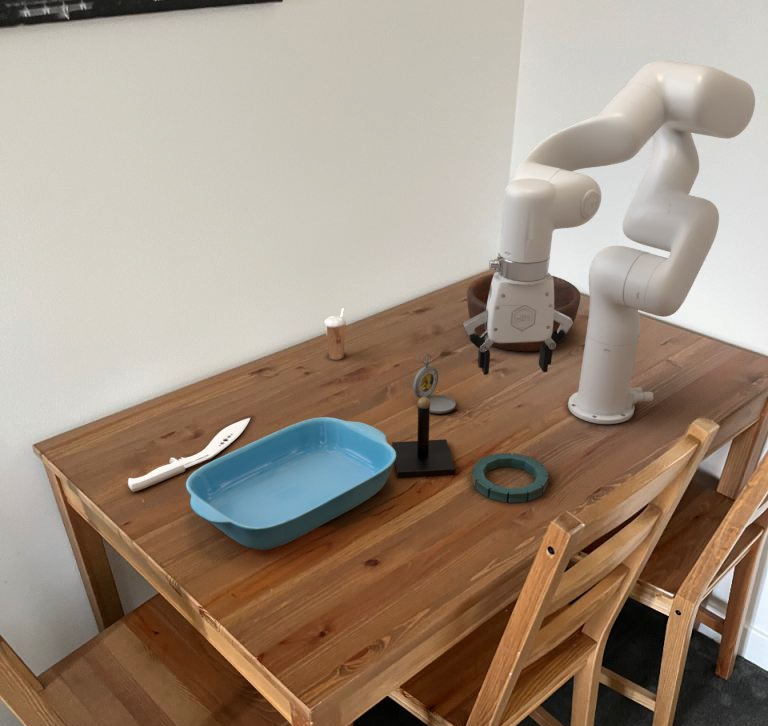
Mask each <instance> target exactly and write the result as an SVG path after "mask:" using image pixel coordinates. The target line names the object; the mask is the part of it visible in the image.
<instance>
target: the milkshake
mask: <svg viewBox="0 0 768 726" xmlns="http://www.w3.org/2000/svg"><path fill="white" fill-rule="evenodd" d="M344 311H345V309H344V308H343V307H342V308H341V312H340V316H339V315H330V316H328V317H327V318H326V319H325V320H324V321H323V322H324V329H325V336H326V342H327V349H328V358H329V359H331V360H333V361H335V360H336V361H339V360H342V359H343V358H344V357H345V341H346V339H345V338H346V337H345V336H346V328H347V327H346V325H347V321H346V319H345V318H344V317H343V316H344Z"/></svg>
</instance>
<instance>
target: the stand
mask: <svg viewBox="0 0 768 726" xmlns="http://www.w3.org/2000/svg"><path fill="white" fill-rule="evenodd" d="M430 404H431V403H430V400H429V399H428V398H427V397H421V398H418V400H417V438H416V439H417V440H409V441H408V440H407V441H392V442H391V446H392V447H393V449H394V450H395V452H396V460H395V462H394V465H395V470H396V477H397V478H398V479H401V478H402V479H403V478H421V477H422V478H423V477H437V476H454V475H456V468H455V464H454V461H453V458H452V453H451V450H450V446H449V444H448V441H447V439H446V438H445V439H444V438H443V439H430V417H431V415H430V414H431V412H430Z"/></svg>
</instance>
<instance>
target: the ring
mask: <svg viewBox="0 0 768 726" xmlns="http://www.w3.org/2000/svg"><path fill="white" fill-rule="evenodd" d="M509 467H511V468H515V469H519V470H524V471H525V472H526V473H529V474H530V475H531V476H533V478H534V482H532V483H530V484H527V485H525V486H522V487H521V486H520V487H506V486H502V485H497V484H495V483H493V482H492V481H491V480H489V479H487V478H486V474H487V473H488V472H490V471H493V470H495V469H497V468H509ZM471 480H472V483H473V486H474V489H475V490H476V491H477V492H479V493H480V494H481V495H483V496H485V497H486V498H489V499H490V500H494V501H498V502H503V503H509V504H513V503H527V502H531V501H533V500H535V499H537V498H539V497H542V495H544V493H545V491H546V489H547V488H548V485H549V473H548V471H547V468H546V466H545V465H544V464H543V463H541V462H540V461H538V460H537V459H535V458H533V457H532V456H529V455H525V454H519V453H516V452H513V453H512V452H502V453H500V452H499V453H494V454H493V453H492V454H489V455H486V456H485V457H481V458H479V460H477V462H476V464H475V465H474V466H473V467H472V471H471Z"/></svg>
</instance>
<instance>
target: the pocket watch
mask: <svg viewBox="0 0 768 726" xmlns="http://www.w3.org/2000/svg"><path fill="white" fill-rule="evenodd" d="M426 356H428V358H429V359H427V358H426V359H425V361H423V360H424V358H425V357H426ZM431 359H432V356H431V355H430V354H429V353H427V354H424V355H422V357H421V360H420V361H421V363H422V364H424V366H423V367H421V368H420V369H419V370H418V371H417V373H416V375H415V377H414V378H413V383H412V391H413V394H414V395H415V396H416V397H417V398H418V399H420V398H421V397H427V398H428V399H429V400H430V403H431V404H430V414H431V413H432V414H438V415H441V414H448V413H450V412H453V410H455V408H456V406H457V405H456V400H455V399H454V398H452V397H451V396H449V395H444V394H433V393H434V392H435V390H436V388H437V385H438V382H439V372H438V371H439V370H438V369H437V368H436V367H435V366H433V365H429V364H430V361H431Z"/></svg>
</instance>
